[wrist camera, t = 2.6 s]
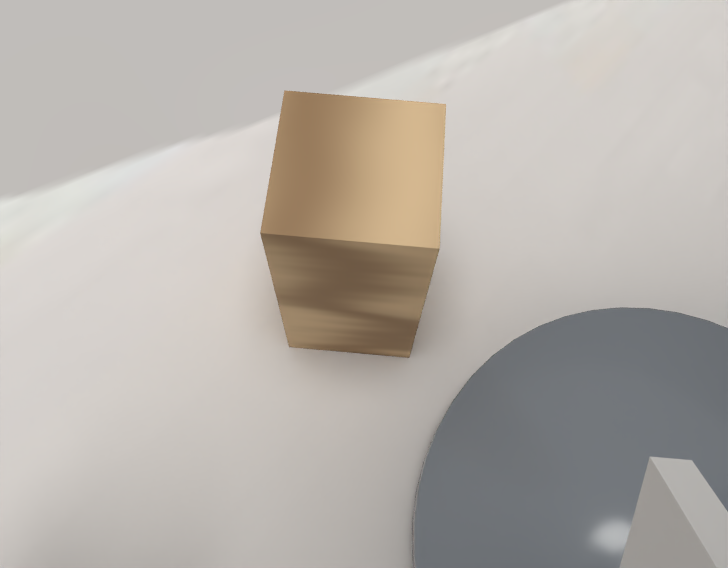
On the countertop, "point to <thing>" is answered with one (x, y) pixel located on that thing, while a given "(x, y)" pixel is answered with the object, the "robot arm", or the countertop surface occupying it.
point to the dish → (571, 440)
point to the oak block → (354, 219)
